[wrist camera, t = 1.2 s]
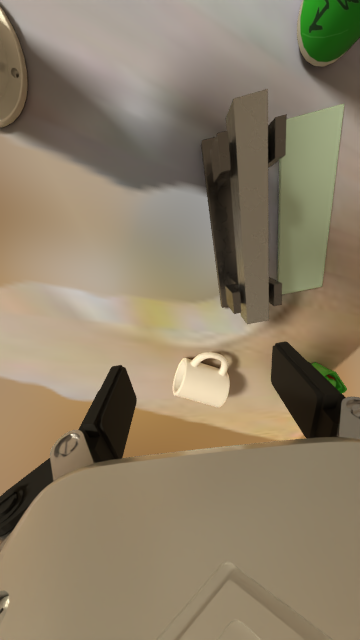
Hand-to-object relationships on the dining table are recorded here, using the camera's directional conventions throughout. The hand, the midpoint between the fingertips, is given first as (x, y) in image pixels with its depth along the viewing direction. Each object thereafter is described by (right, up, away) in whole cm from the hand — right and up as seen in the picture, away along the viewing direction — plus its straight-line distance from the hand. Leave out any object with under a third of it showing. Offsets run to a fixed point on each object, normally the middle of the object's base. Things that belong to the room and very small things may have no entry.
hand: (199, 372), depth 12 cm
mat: (+19, +20, +18) cm, 33 cm away
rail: (+7, +14, +12) cm, 20 cm away
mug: (+4, -7, +31) cm, 32 cm away
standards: (+7, +18, +19) cm, 27 cm away
